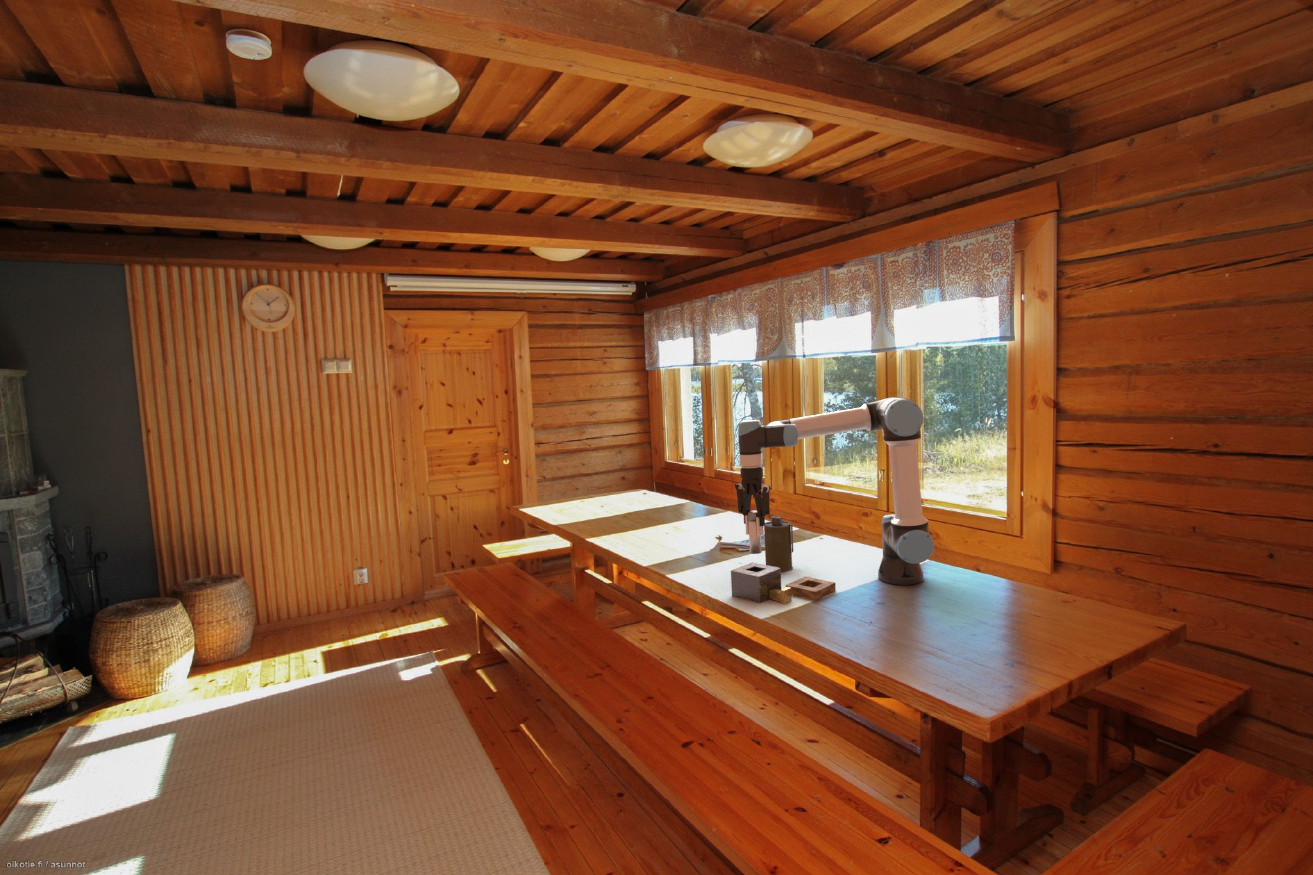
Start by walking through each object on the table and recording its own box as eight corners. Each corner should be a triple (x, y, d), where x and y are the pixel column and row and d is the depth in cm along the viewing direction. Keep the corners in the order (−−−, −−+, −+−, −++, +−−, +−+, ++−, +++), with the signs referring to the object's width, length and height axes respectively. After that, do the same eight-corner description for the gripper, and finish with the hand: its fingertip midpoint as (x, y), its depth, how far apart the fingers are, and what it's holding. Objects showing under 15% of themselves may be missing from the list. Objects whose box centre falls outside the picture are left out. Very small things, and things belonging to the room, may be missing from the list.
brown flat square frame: (835, 591, 232) (835, 582, 232) (816, 600, 224) (815, 591, 223) (805, 584, 240) (805, 576, 240) (785, 593, 232) (785, 585, 232)
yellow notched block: (791, 600, 224) (791, 587, 224) (784, 604, 222) (784, 590, 221) (762, 593, 233) (761, 581, 233) (755, 596, 230) (754, 584, 230)
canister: (761, 570, 260) (759, 519, 258) (770, 563, 269) (768, 513, 267) (789, 573, 254) (787, 520, 253) (797, 565, 264) (795, 515, 262)
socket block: (781, 593, 232) (780, 568, 231) (760, 603, 224) (759, 576, 223) (753, 587, 241) (752, 562, 240) (731, 596, 232) (730, 570, 232)
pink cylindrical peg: (764, 551, 231) (762, 511, 229) (756, 554, 228) (754, 513, 227) (754, 550, 234) (752, 510, 232) (747, 552, 231) (745, 512, 230)
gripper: (779, 466, 225) (782, 535, 227) (738, 463, 237) (742, 529, 239) (765, 469, 219) (768, 540, 222) (724, 466, 232) (728, 533, 234)
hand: (754, 534), depth 230 cm, fingers closed on pink cylindrical peg, 4 cm apart
